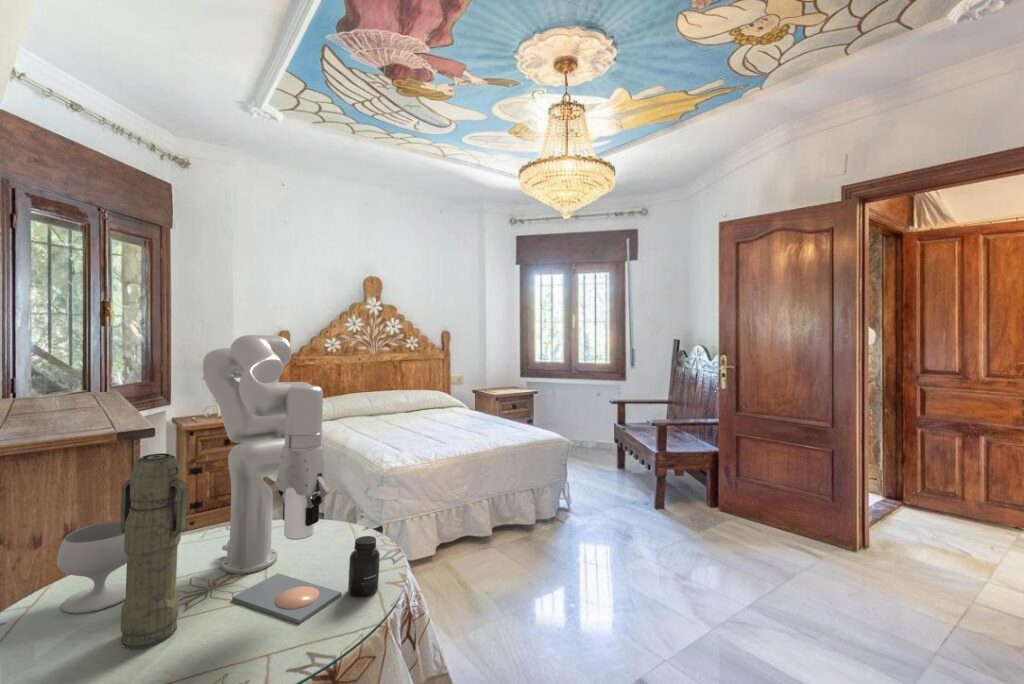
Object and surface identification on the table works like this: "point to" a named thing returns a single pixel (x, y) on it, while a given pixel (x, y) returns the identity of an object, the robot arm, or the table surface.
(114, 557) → the chalice
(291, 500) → the can
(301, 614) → the card
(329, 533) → the table surface
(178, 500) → the thermos
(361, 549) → the supplement bottle
